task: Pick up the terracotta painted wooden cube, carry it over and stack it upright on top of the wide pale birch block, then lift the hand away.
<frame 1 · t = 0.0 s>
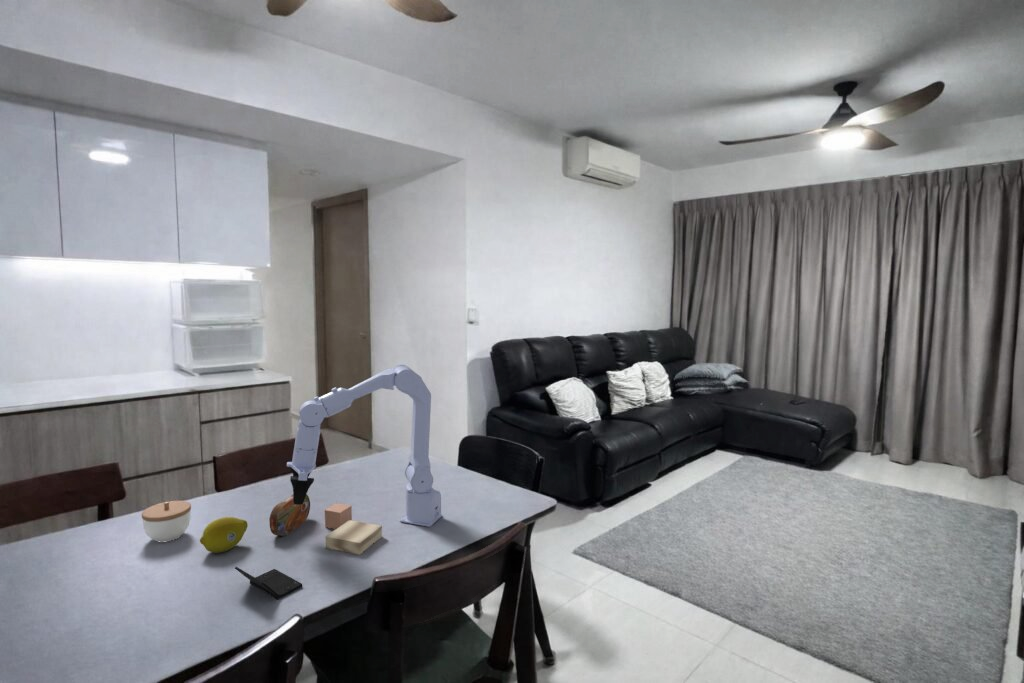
hand: (298, 498, 138), 11 cm above the table, tool pointing down, fingers open, 7 cm apart
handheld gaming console: (269, 590, 115), on the table
terracotta cube: (338, 525, 146), on the table
lidded jar: (168, 537, 138), on the table
lemon: (225, 550, 132), on the table
tin: (290, 528, 144), on the table
birch block: (354, 542, 136), on the table
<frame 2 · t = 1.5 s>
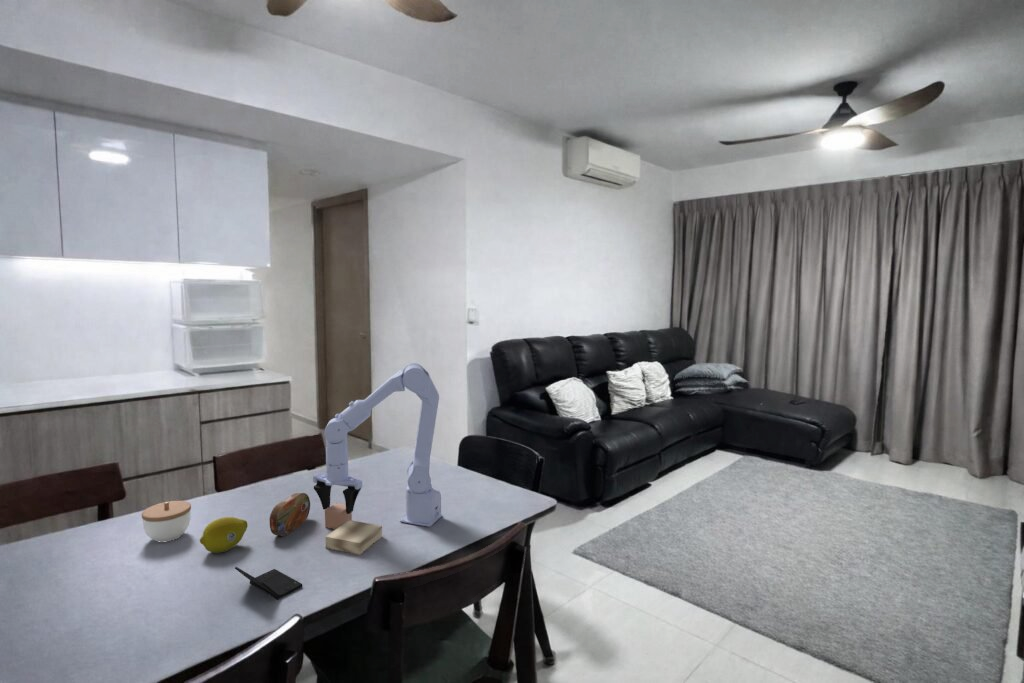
hand: (338, 510, 146), 4 cm above the table, tool pointing down, fingers open, 7 cm apart
nothing on the table moved.
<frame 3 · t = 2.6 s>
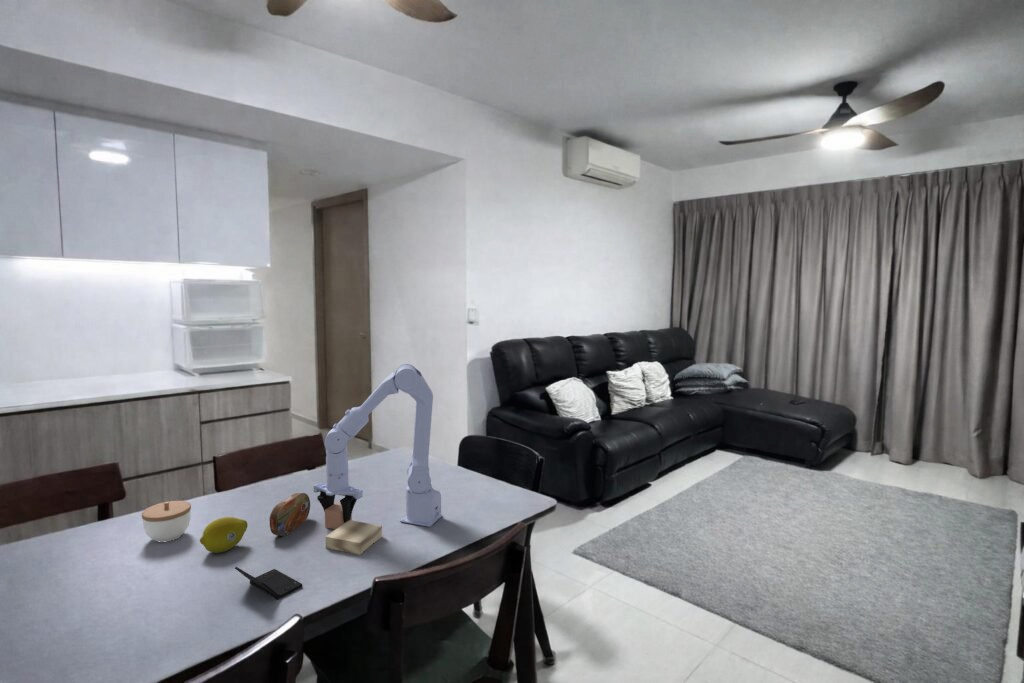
hand: (338, 519, 146), 1 cm above the table, tool pointing down, fingers closed on terracotta cube, 5 cm apart
terracotta cube: (338, 524, 146), on the table, touching gripper
everything else where it was.
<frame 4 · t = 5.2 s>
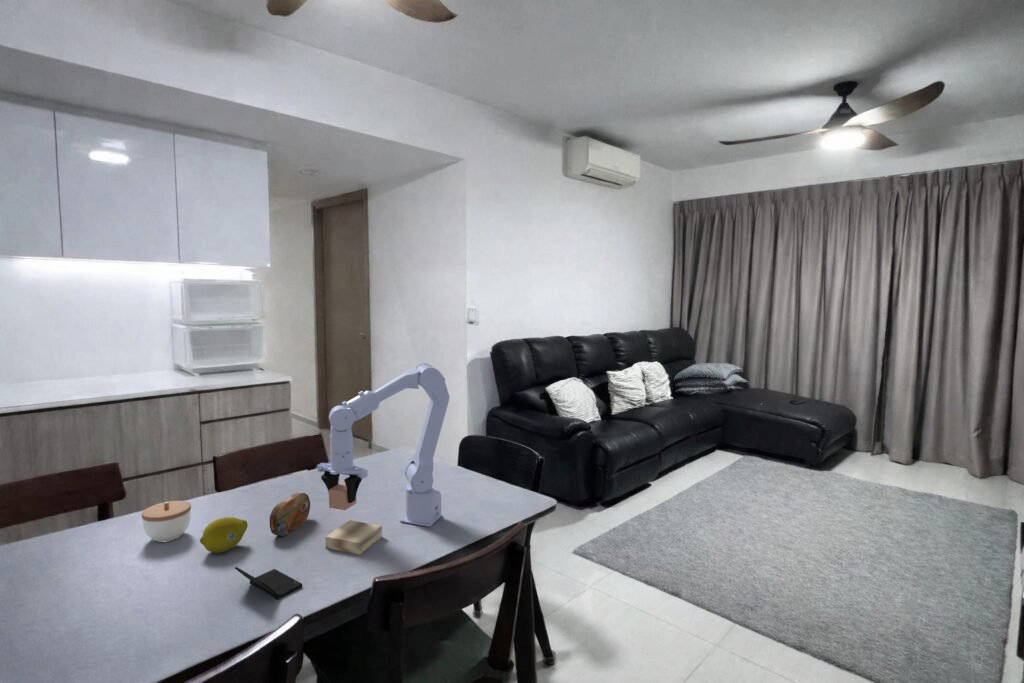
hand: (342, 500, 142), 8 cm above the table, tool pointing down, fingers closed on terracotta cube, 5 cm apart
terracotta cube: (343, 505, 142), point 7 cm above the table, touching gripper
everything else where it was.
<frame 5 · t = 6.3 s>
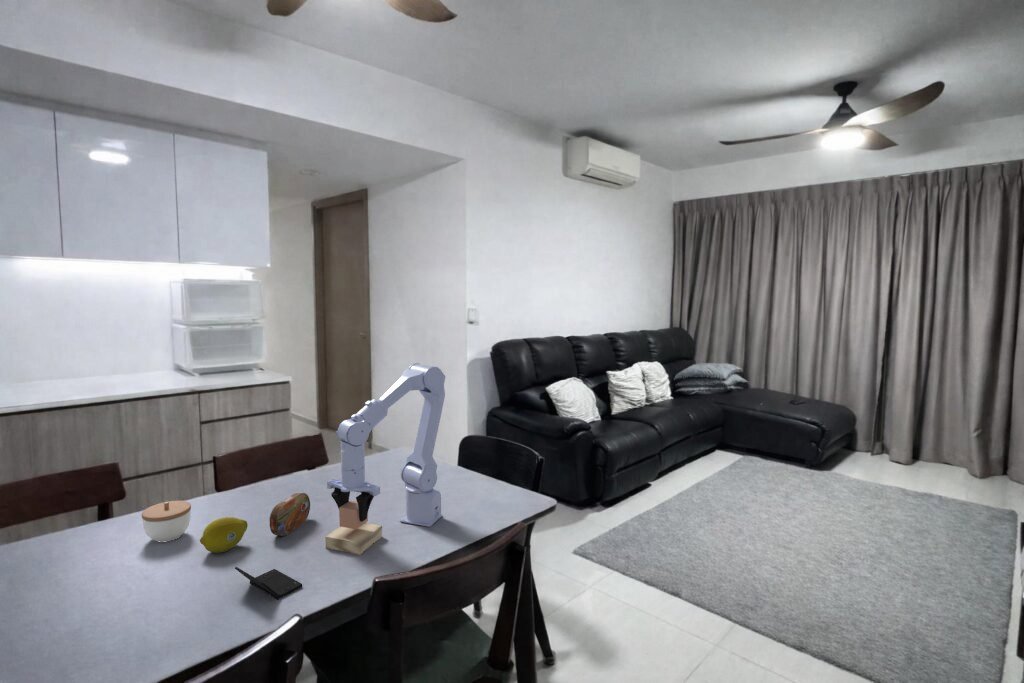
hand: (353, 518, 136), 6 cm above the table, tool pointing down, fingers closed on terracotta cube, 5 cm apart
terracotta cube: (353, 523, 136), point 5 cm above the table, touching gripper
everything else where it was.
when the fingers open (5 cm above the table, at t = 7.5 s): terracotta cube stays where it is, resting on birch block.
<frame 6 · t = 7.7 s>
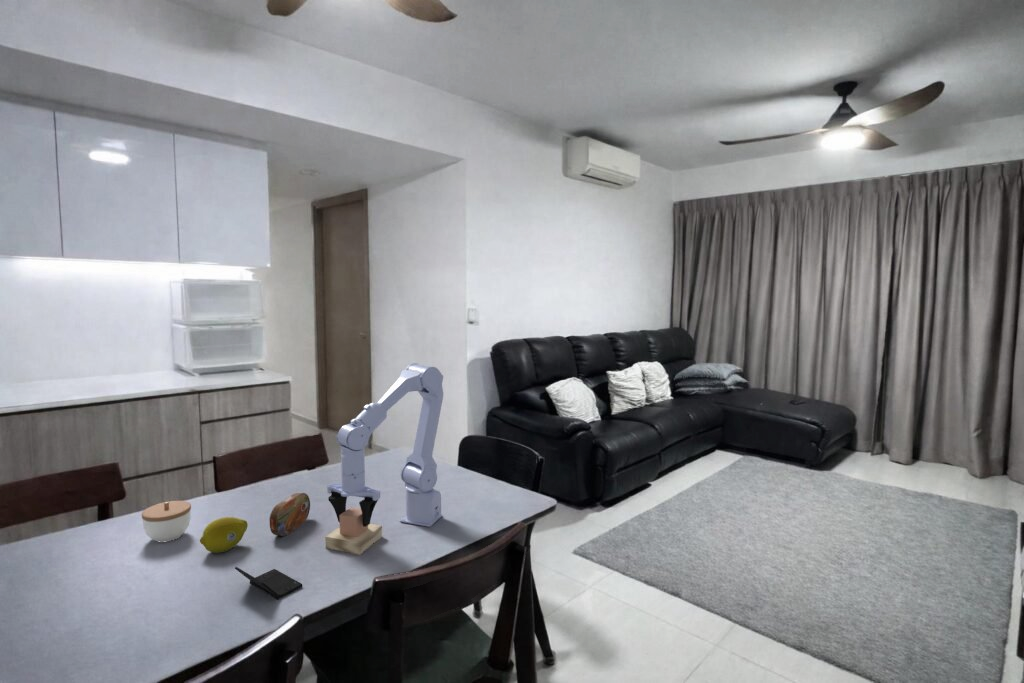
hand: (354, 522, 136), 5 cm above the table, tool pointing down, fingers open, 7 cm apart
terracotta cube: (354, 531, 136), point 3 cm above the table, touching birch block
everything else where it was.
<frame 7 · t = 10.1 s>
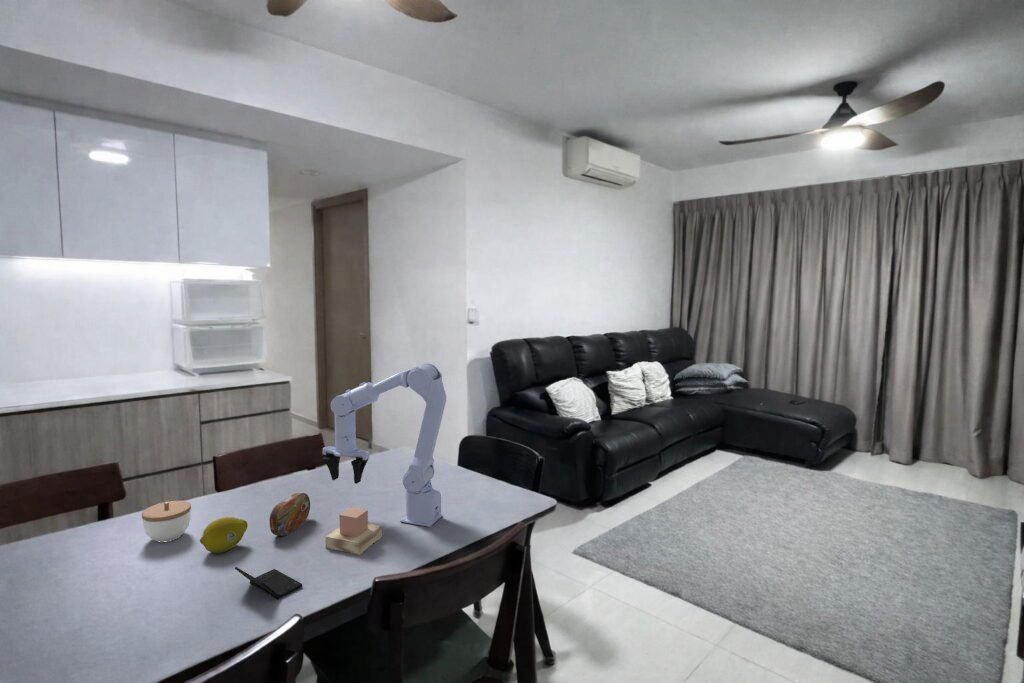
hand: (346, 480, 153), 9 cm above the table, tool pointing down, fingers open, 7 cm apart
nothing on the table moved.
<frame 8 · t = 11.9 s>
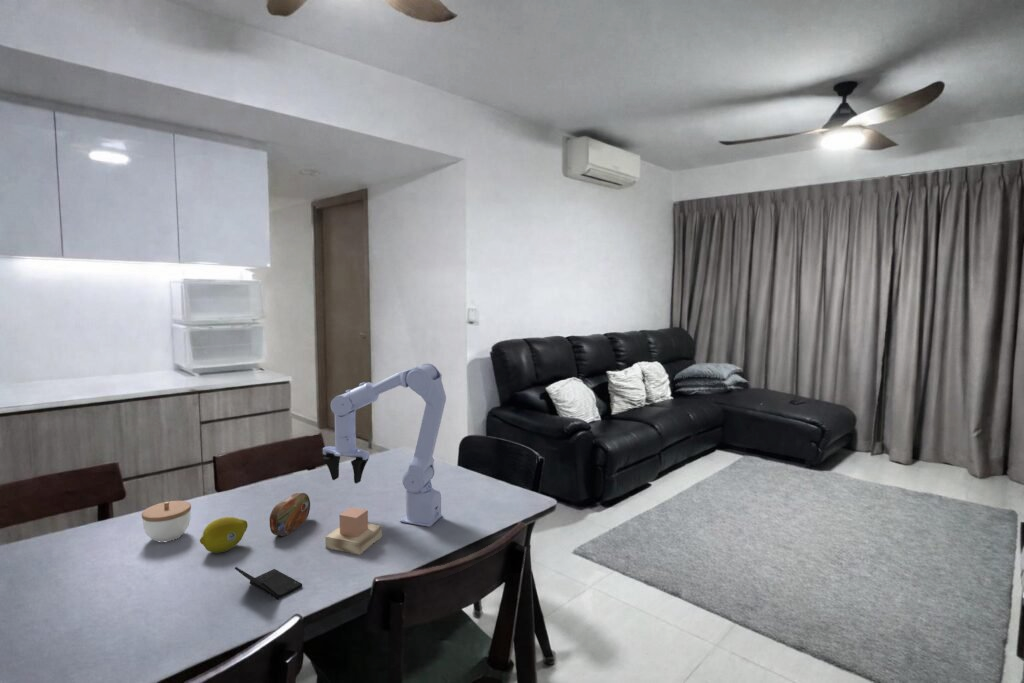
hand: (346, 480, 154), 9 cm above the table, tool pointing down, fingers open, 7 cm apart
nothing on the table moved.
at the end: terracotta cube 0.0 cm off-centre on the birch block, point 3.0 cm above the birch block's base; terracotta cube tilted 0°; the gripper is holding nothing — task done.
